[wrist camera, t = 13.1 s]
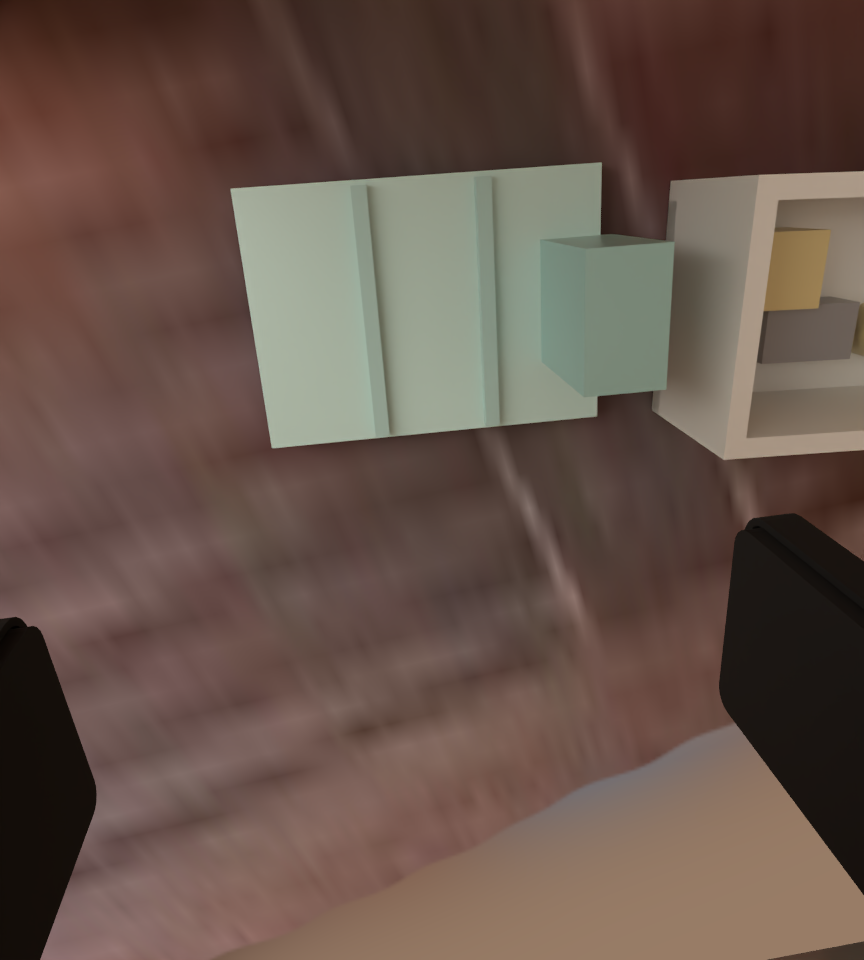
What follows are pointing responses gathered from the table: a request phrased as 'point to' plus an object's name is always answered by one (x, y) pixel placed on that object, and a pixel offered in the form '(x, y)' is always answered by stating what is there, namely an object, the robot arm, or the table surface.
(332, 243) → the lid
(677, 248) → the tub
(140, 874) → the table surface
